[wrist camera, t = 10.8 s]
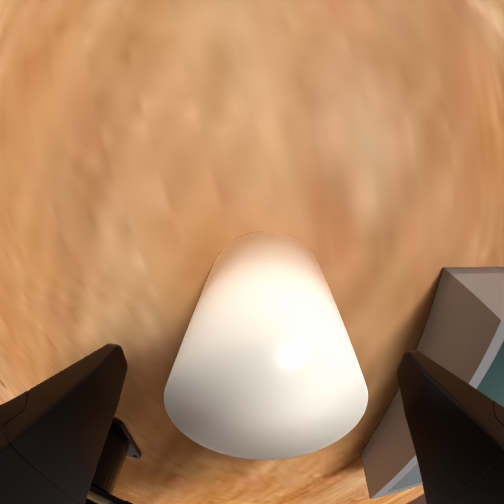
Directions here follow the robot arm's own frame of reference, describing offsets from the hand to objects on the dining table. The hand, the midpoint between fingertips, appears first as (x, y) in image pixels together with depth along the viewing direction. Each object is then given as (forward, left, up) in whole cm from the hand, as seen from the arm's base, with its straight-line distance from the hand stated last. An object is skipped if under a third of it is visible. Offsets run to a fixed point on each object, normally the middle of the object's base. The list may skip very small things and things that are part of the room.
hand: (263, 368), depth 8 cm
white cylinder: (0, 0, -5) cm, 5 cm away
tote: (-8, -16, -5) cm, 19 cm away
